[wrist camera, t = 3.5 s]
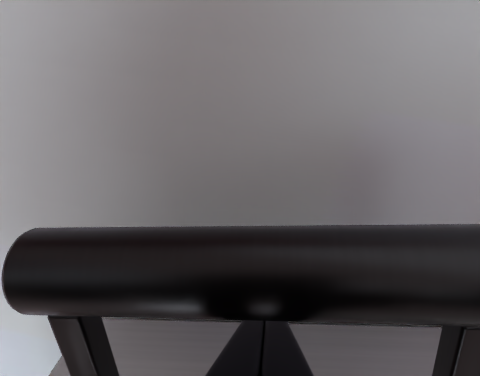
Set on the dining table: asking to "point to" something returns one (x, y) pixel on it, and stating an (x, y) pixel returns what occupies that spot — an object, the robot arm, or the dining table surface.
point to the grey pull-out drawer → (253, 295)
